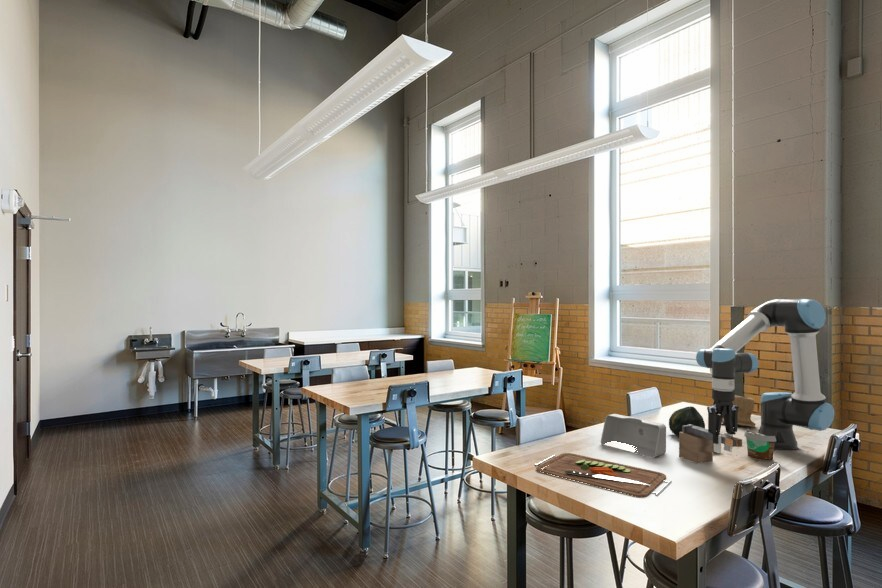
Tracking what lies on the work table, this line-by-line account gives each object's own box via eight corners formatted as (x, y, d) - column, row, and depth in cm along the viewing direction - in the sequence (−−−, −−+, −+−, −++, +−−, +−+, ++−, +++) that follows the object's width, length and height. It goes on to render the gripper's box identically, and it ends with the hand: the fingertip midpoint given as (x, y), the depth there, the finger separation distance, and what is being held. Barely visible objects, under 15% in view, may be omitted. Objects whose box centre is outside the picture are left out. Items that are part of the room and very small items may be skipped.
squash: (663, 418, 246) (671, 399, 236) (695, 420, 245) (705, 402, 235) (670, 444, 236) (679, 425, 226) (703, 446, 234) (714, 428, 224)
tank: (674, 451, 212) (674, 421, 212) (654, 459, 202) (654, 427, 202) (620, 438, 231) (620, 411, 231) (600, 444, 221) (600, 416, 221)
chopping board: (676, 479, 180) (676, 470, 180) (652, 502, 160) (652, 493, 160) (560, 454, 209) (560, 446, 209) (527, 470, 188) (527, 462, 188)
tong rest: (694, 454, 207) (694, 424, 207) (745, 473, 186) (745, 439, 186) (679, 456, 204) (679, 425, 205) (728, 475, 183) (728, 441, 183)
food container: (736, 454, 209) (737, 429, 209) (747, 452, 211) (747, 428, 211) (765, 463, 197) (765, 437, 197) (776, 461, 199) (776, 436, 199)
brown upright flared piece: (757, 425, 257) (757, 395, 257) (753, 429, 248) (753, 399, 248) (724, 420, 267) (724, 391, 267) (719, 424, 258) (719, 395, 258)
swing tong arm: (690, 431, 204) (690, 424, 204) (736, 446, 184) (736, 437, 184) (685, 432, 203) (685, 424, 203) (732, 446, 183) (732, 438, 183)
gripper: (713, 392, 184) (713, 456, 183) (749, 390, 190) (748, 452, 189) (697, 388, 191) (696, 450, 190) (731, 386, 197) (731, 446, 197)
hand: (722, 451), depth 190 cm, fingers open, 5 cm apart
